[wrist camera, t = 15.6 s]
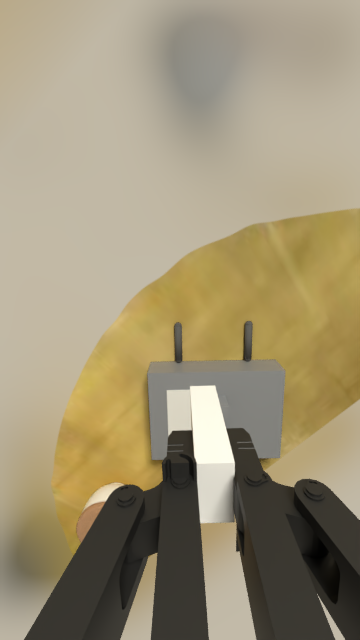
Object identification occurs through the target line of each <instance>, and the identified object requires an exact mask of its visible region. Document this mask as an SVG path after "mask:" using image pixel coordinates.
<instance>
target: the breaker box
mask: <svg viewBox="0 0 360 640" xmlns="http://www.w3.org/2000/svg"><path fill="white" fill-rule="evenodd" d="M147 374H148V394H149V413H150V433H151V453H152V460H164V458H165V457H166V456H167V446H168V445H167V444H168V436H169V435H170V434H171V432H172V431H178V430H191V402H190V386H214V385H215V387H216V391H217V395H218V399H219V403H220V407H221V411H222V414H223V418H224V422H225V426H226V428H244V429H245V430H246V431H247V432H248V433H249V434H250V437H251V439H252V443H253V445H254V447H255V450H256V452H257V455H258V458H280V448H281V432H282V416H283V400H284V383H285V370H284V369H283V368H282V366H281V365H280V364H279V363H278V362H277V361H276V360H250V361H245V360H224V361H182V362H180V363H177V362H176V361H172V362H151V363H150V366H149V370H148V373H147Z"/></svg>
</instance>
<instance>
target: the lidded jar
mask: <svg viewBox="0 0 360 640" xmlns="http://www.w3.org/2000/svg"><path fill="white" fill-rule="evenodd" d="M120 486H124V484H122V483H110V484H108V485H105V486H102V487H101V488H99V489H98V490H97V491H95V492H94V493H93V494H92V496H91V497H90V498H89V500H88V501H87V503H86V505H85V507H84V509H83V511H82V514H81V516H80V517H79V520H78V523H77V528H76V529H77V535H78V538H79V540H80V541H81V543H82V541H83V539H84V538H85V536H86V534H87V532H88V531H89V529H90V527H91V526H92V524H93V522H94V521H95V519H96V517H97V516H98V514H99V512H100V510H101V509H102V507H103V505H104V504H105V502H106V500H107V499H108V497H109V495H110V494H111V493H112V492H113V491H114V490H115V489H117V488H118V487H120Z"/></svg>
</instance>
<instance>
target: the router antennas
mask: <svg viewBox="0 0 360 640" xmlns="http://www.w3.org/2000/svg"><path fill="white" fill-rule="evenodd" d="M174 327H175V360H176V362H177V363H180V362H182V326H181V323H179V322H177V323H176V324H175V326H174ZM251 354H252V322H251V321H247V322H246V323H245V350H244V359H245V361H250V360H251Z"/></svg>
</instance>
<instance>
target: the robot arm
mask: <svg viewBox="0 0 360 640" xmlns="http://www.w3.org/2000/svg"><path fill="white" fill-rule="evenodd" d="M190 402H191V430H178V431H172V432H171V434H170V435H169V436H168V444H167V445H168V446H167V456H166V457H165V458H164V460H163V462H162V472H163V481H162V482H161V483H160V484H159V485H158V486H156V487H155V488H152V489H150V490H147V491H144V492H143V490H142V489H140V488H139V487H138V486H135V485H124V486H120V487H118V488H117V489H115V490H114V491H113V492H112V493H111V494H110V495H109V497H108V499H107V500H106V502H105V504H104V505H103V507H102V509H101V510H100V512H99V514H98V516H97V517H96V519H95V521H94V522H93V524H92V526H91V527H90V529H89V531H88V532H87V534H86V536H85V538H84V539H83V541H82V543H81V544H80V546H79V548H78V549H77V551H76V553H75V554H74V556H73V558H72V560H71V561H70V563H69V565H68V566H67V568H66V570H65V571H64V573H63V575H62V577H61V578H60V580H59V582H58V583H57V585H56V587H55V588H54V590H53V592H52V593H51V595H50V597H49V598H48V600H47V602H46V604H45V605H44V607H43V609H42V610H41V612H40V614H39V615H38V617H37V619H36V621H35V622H34V624H33V625H32V627H31V629H30V631H29V632H28V634H27V636H26V637H25V639H24V640H120V638H121V635H122V632H123V630H124V626H125V624H126V621H127V618H128V615H129V612H130V609H131V606H132V603H133V600H134V598H135V595H136V592H137V588H138V585H139V583H140V580H141V577H142V574H143V571H144V568H145V566H146V562H147V559H148V556H149V555H152V554H155V553H157V552H158V554H157V567H156V580H155V593H154V605H153V618H152V631H151V640H209V637H208V623H207V609H206V596H205V582H204V568H203V554H202V540H201V528H200V523H222V522H234V513H235V518H236V523H237V537H236V539H237V540H236V551H240V556H241V561H242V566H243V572H244V577H245V581H246V587H247V592H248V597H249V602H250V608H251V613H252V618H253V623H254V629H255V634H256V639H257V640H335V638H334V636H333V633H332V631H331V628H330V625H329V623H328V620H327V618H326V616H325V613H324V611H323V608H322V605H321V603H320V600H319V598H318V596H319V597H320V599H321V601H322V602H323V604H324V605H325V607H326V608H327V610H328V612H329V614H330V615H331V617H332V618H333V620H334V622H335V623H336V625H337V627H338V628H339V630H340V631H341V633H342V635H343V636H344V638H345V640H360V520H359V519H357V517H356V516H355V515H354V514H353V513H352V512H351V511H350V510H349V509H348V508H347V507H346V506H345V504H344V503H343V502H342V501H341V500H340V499H339V498H338V497H337V496H336V495H335V494H334V493H333V492H332V491H331V490H330V489H329V488H328V487H327V486H326V485H324V484H323V483H321V482H318V481H316V480H312V479H302V480H300V481H298V482H297V483H296V484H295V487H289V486H284V485H281V484H278V483H276V482H274V481H272V479H271V478H270V476H269V475H268V474H267V473H266V472H265V471H263V468H262V466H261V463H260V460H259V458H258V455H257V452H256V450H255V447H254V445H253V443H252V439H251V437H250V434H249V433H248V432H247V431H246V430H245V429H244V428H226V426H225V422H224V418H223V414H222V411H221V407H220V403H219V399H218V395H217V391H216V387H215V385H214V386H190ZM316 592H317V593H316ZM317 594H318V595H317Z"/></svg>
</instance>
